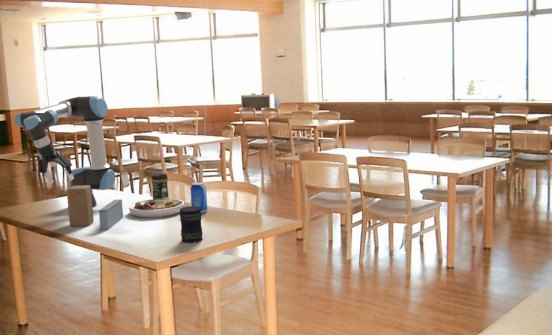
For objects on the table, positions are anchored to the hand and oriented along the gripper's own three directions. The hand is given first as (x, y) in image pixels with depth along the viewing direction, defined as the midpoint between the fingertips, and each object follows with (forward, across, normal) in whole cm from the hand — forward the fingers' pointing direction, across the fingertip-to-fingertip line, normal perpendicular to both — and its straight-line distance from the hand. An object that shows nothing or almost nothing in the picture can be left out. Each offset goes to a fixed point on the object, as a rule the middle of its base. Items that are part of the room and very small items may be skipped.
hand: (62, 181), depth 340 cm
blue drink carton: (+45, +50, +31) cm, 74 cm away
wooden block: (+24, +4, -6) cm, 25 cm away
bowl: (+39, +27, +26) cm, 54 cm away
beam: (+28, +19, -1) cm, 34 cm away
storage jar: (+32, +76, -21) cm, 85 cm away
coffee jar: (+44, +17, +46) cm, 66 cm away
